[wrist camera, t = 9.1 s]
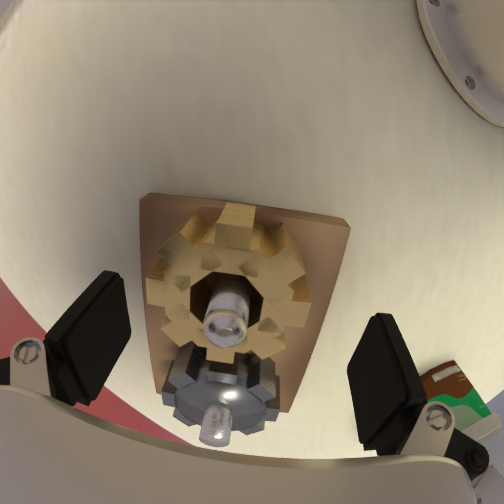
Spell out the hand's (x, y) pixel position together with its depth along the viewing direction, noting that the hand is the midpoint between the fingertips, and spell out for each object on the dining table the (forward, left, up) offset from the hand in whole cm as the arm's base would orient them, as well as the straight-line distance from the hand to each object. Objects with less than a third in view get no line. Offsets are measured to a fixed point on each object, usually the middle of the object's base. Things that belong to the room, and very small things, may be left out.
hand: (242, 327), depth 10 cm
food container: (-18, +13, -7) cm, 23 cm away
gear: (+1, +9, -6) cm, 11 cm away
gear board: (+1, +5, -7) cm, 9 cm away
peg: (+1, +1, -6) cm, 6 cm away
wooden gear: (+1, +1, -6) cm, 6 cm away
